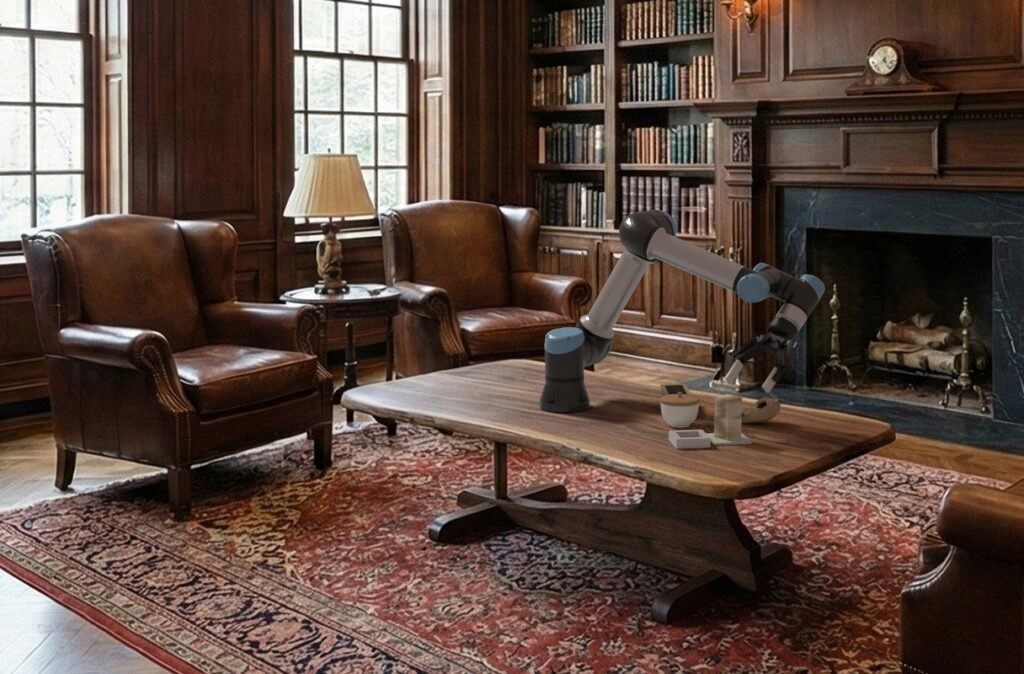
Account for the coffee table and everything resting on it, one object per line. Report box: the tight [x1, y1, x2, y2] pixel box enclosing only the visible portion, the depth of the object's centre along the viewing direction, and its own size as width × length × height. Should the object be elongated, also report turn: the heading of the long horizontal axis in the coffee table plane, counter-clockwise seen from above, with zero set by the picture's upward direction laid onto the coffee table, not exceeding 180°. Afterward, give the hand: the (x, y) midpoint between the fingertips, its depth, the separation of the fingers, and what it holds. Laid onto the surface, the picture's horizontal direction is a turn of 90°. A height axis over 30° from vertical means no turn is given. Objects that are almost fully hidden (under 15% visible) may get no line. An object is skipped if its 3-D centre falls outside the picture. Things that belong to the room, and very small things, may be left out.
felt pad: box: [705, 432, 752, 446], centre depth 300 cm, size 10×10×1 cm
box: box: [660, 383, 692, 397], centre depth 333 cm, size 8×22×5 cm, turn 4°
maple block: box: [713, 393, 743, 441], centre depth 300 cm, size 5×5×11 cm
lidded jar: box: [660, 392, 700, 428], centre depth 316 cm, size 11×11×9 cm
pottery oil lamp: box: [741, 397, 781, 424], centre depth 317 cm, size 9×12×7 cm
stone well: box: [668, 429, 712, 450], centre depth 297 cm, size 9×9×2 cm
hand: (746, 385), depth 302 cm, fingers open, 13 cm apart
